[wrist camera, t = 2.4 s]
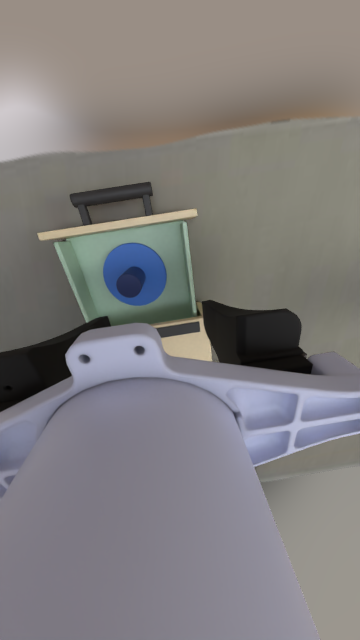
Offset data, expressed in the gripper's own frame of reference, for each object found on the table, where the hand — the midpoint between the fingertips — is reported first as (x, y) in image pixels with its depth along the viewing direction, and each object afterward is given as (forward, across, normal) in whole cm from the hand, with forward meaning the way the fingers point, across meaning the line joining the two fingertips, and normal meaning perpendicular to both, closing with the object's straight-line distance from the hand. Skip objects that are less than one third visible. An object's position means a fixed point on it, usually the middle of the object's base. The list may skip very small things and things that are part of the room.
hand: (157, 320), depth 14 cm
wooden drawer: (+9, +2, -3) cm, 9 cm away
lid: (+8, +2, -2) cm, 9 cm away
